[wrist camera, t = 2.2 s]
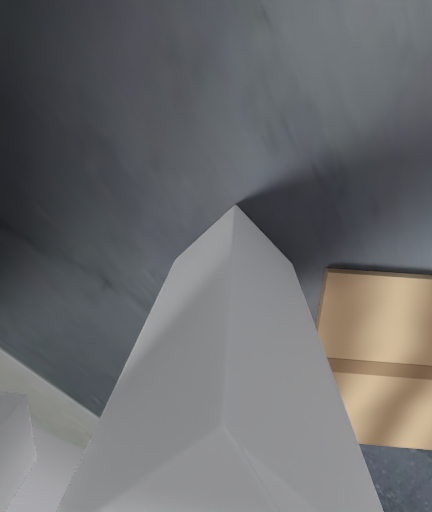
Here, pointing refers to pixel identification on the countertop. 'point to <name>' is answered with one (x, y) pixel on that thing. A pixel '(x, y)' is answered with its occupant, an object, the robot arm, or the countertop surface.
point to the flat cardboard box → (380, 353)
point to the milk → (225, 397)
